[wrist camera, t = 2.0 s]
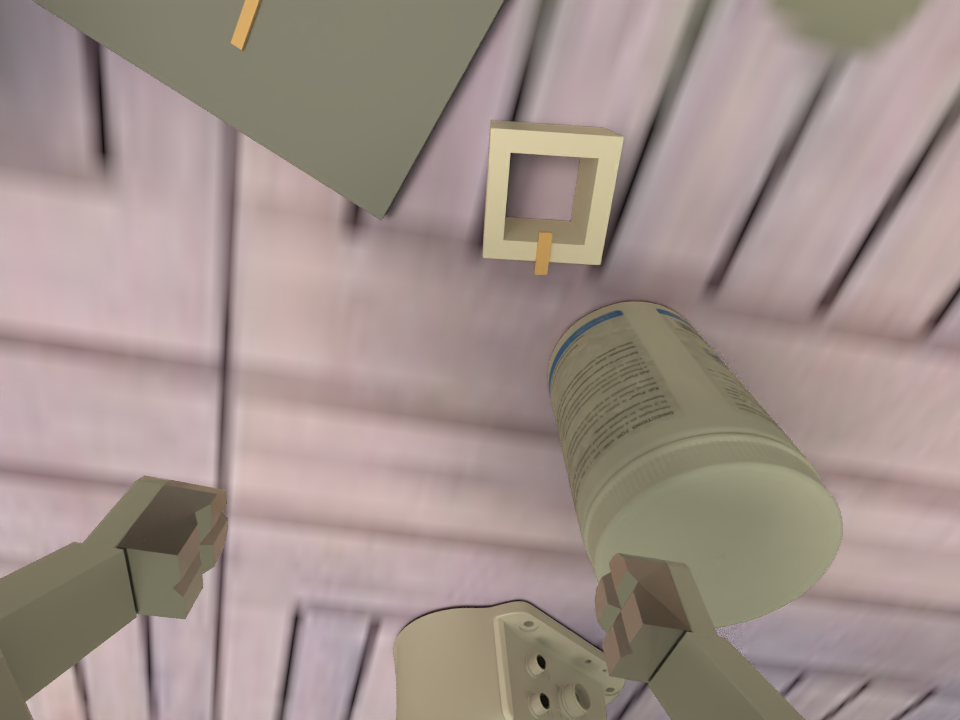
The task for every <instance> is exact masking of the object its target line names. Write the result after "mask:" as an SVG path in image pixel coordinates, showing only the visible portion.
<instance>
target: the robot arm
mask: <svg viewBox="0 0 960 720" xmlns="http://www.w3.org/2000/svg"><path fill="white" fill-rule="evenodd" d="M226 504H227V494H226V491H225V490H222V489H216V488H211V487H206V486H200V485H195V484H190V483H184V482H179V481H174V480H167V479H161V478H156V477H150V476H143V477H142V478H140V479H138V480H137V481H135V482H134V484H133V485H132V486H131V487H130V488H129V489H128V491H127V492H126V493H125V494H124V495H123V496H122V498H121V499H120V500H119V501H118V502H117V503H116V505H115V506H114V507H113V508H112V509H111V510H110V512H109V513H108V514H107V515H106V516H105V517H104V519H103V520H102V521H101V522H100V523H99V524H98V526H97V527H96V528H95V529H94V530H93V531H92V533H91V534H90V535H89V536H88V537H87V538H86V540H85V541H84V542H83V543H78V542H73V543H71V544H69V545H67V546H65V547H63V548H61V549H59V550H57V551H55V552H53V553H51V554H49V555H47V556H45V557H43V558H41V559H39V560H37V561H35V562H33V563H31V564H29V565H27V566H25V567H23V568H21V569H19V570H17V571H15V572H13V573H11V574H9V575H7V576H5V577H3V578H1V579H0V720H33V717H32V715H31V713H30V711H29V709H28V707H27V704H26V701H27V700H28V699H30V698H31V697H32V696H34V695H35V694H36V693H38V692H39V691H40V690H41V689H43V688H44V687H45V686H47V685H48V684H49V683H51V682H52V681H53V680H55V679H56V678H57V677H59V676H60V675H61V674H62V673H64V672H65V671H66V670H68V669H69V668H70V667H72V666H73V665H74V664H76V663H77V662H78V661H80V660H81V659H82V658H83V657H85V656H86V655H87V654H89V653H90V652H91V651H93V650H94V649H95V648H97V647H98V646H99V645H101V644H102V643H103V642H104V641H106V640H107V639H108V638H110V637H111V636H112V635H114V634H115V633H116V632H118V631H119V630H120V629H122V628H123V627H124V626H125V625H127V624H128V623H129V622H131V621H132V620H133V619H135V618H136V617H137V615H136V614H141V615H150V616H160V617H169V618H179V619H186V617H187V615H188V613H189V612H190V610H191V608H192V606H193V604H194V603H195V601H196V599H197V597H198V595H199V594H200V592H201V590H202V588H203V578H202V574H203V573H205V572H206V571H208V570H210V569H211V568H213V567H214V566H215V564H216V562H217V560H218V558H219V557H220V555H221V552H222V550H223V547H224V544H225V541H226V538H227V531H228V518H227V517H226V516H225V515H224V514H223V513H222V511H223V509H224V508H225V506H226ZM609 566H610V570H611V572H610V573H608V574H606V575H604V576H603V577H602V578H601V580H600V582H599V584H598V586H597V590H596V597H595V611H596V616H597V621H598V623H599V625H600V626H601V627H602V628H603V630H604V631H605V632H606V633H607V635H606V637H605V639H604V641H603V643H602V646H603V650H604V653H603V652H602V651H600V650H599V649H597V648H596V647H594V646H593V645H591V644H590V643H588V642H587V641H585V640H584V639H582V638H581V637H579V636H578V635H576V634H575V633H573V632H571V631H570V630H568V629H567V628H565V627H564V626H562V625H561V624H559V623H558V622H556V621H555V620H553V619H552V618H550V617H549V616H547V615H546V614H544V613H543V612H541V611H540V610H538V609H537V608H535V607H534V606H532V605H531V604H529V603H526V602H522V601H517V602H510V603H505V604H502V605H498V606H494V607H489V608H457V609H449V610H443V611H439V612H435V613H431V614H428V615H426V616H423V617H421V618H419V619H417V620H415V621H413V622H412V623H410V624H409V625H408V626H406V627H405V628H404V629H403V630H402V631H401V632H400V633H399V635H398V636H397V638H396V640H395V642H394V646H393V657H394V664H395V674H396V698H397V708H396V720H607V714H606V705H608V704H609V703H610V702H611V701H612V700H613V699H614V698H615V697H616V696H617V695H618V694H619V692H620V691H621V689H622V688H623V686H624V683H625V679H629V680H635V681H641V682H647V683H649V684H648V686H649V687H650V689H651V690H652V692H653V693H654V695H655V696H656V698H657V699H658V701H659V702H660V704H661V705H662V707H663V708H664V710H665V711H666V713H667V714H668V716H669V717H670V719H671V720H805V719H804V718H803V717H802V716H801V715H800V714H799V713H798V712H797V711H796V710H795V709H794V708H793V707H792V706H791V705H790V704H789V702H788V701H787V700H786V699H785V698H784V697H783V696H782V695H781V694H780V693H779V692H778V691H777V690H776V689H775V688H774V687H773V686H772V685H771V684H770V683H769V682H768V681H767V680H766V679H765V678H764V677H763V676H762V675H761V674H760V673H759V672H758V671H757V670H756V669H755V668H754V667H753V666H752V665H751V664H750V663H749V662H748V661H747V660H746V659H745V658H744V657H743V656H742V655H741V654H740V653H739V652H738V650H737V649H736V648H735V647H734V646H733V645H732V644H731V643H730V642H729V641H728V640H727V639H726V638H724V637H719V636H718V635H717V632H716V630H715V628H714V625H713V623H712V621H711V618H710V616H709V613H708V611H707V609H706V606H705V604H704V602H703V599H702V597H701V594H700V592H699V590H698V587H697V585H696V583H695V580H694V578H693V576H692V573H691V571H690V569H689V567H688V566H687V565H686V564H685V563H679V562H673V561H667V560H660V559H656V558H649V557H642V556H636V555H629V554H622V553H617V554H616V555H614V556H613V557H612V559H611V561H610V563H609Z"/></svg>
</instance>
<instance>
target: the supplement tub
mask: <svg viewBox="0 0 960 720" xmlns="http://www.w3.org/2000/svg"><path fill="white" fill-rule="evenodd" d="M548 388H549V393H550V398H551V403H552V407H553V412H554V416H555V421H556V425H557V430H558V434H559V438H560V443H561V447H562V452H563V456H564V461H565V465H566V470H567V474H568V479H569V483H570V487H571V492H572V496H573V501H574V505H575V510H576V514H577V519H578V523H579V526H580V530H581V535H582V539H583V543H584V546H585V548H586V551H587V554H588V557H589V559H590V561H591V563H592V565H593V569H594V572H595V576H596V579H597V582H598V584H599V582H600V580H601V578H602V577H603V576H604V575H606V574H608V573H610V572H611V570H610V566H609V563H610V561H611V559H612V557H613V556H614V555H616V554H617V553H622V554H629V555H636V556H642V557H649V558H656V559H660V560H667V561H673V562H679V563H685V564H686V565H687V566H688V567H689V569H690V571H691V573H692V576H693V578H694V580H695V583H696V585H697V587H698V590H699V592H700V594H701V597H702V599H703V602H704V604H705V606H706V609H707V611H708V613H709V616H710V618H711V621H712V623H713V625H714V628H718V627H724V626H729V625H733V624H738V623H742V622H746V621H749V620H752V619H755V618H758V617H761V616H763V615H766V614H768V613H770V612H773V611H775V610H777V609H779V608H781V607H783V606H785V605H786V604H788V603H789V602H791V601H793V600H794V599H796V598H797V597H799V596H800V595H801V594H803V593H804V592H805V591H807V590H808V589H809V588H810V587H811V586H812V585H814V584H815V583H816V582H817V581H818V580H819V579H820V578H821V576H822V575H823V574H824V573H825V572H826V570H827V569H828V568H829V566H830V565H831V563H832V561H833V560H834V558H835V556H836V554H837V552H838V550H839V546H840V543H841V540H842V534H843V523H842V517H841V512H840V509H839V507H838V505H837V502H836V501H835V499H834V498H833V496H832V495H831V494H830V492H829V491H828V490H827V488H826V487H825V486H824V484H823V483H822V480H821V478H820V476H819V474H818V473H817V471H816V470H815V468H814V467H813V466H812V465H811V463H810V462H809V461H808V460H807V459H806V458H805V457H804V455H803V454H802V453H801V452H800V451H799V450H798V448H797V447H796V446H795V445H794V444H793V442H792V441H791V440H790V439H789V437H788V436H787V435H786V434H785V433H784V432H783V430H782V429H781V428H780V427H779V426H778V425H777V424H776V422H775V421H774V420H773V419H772V418H771V417H770V416H769V414H768V413H767V412H766V411H765V410H764V409H763V408H762V406H761V405H760V404H759V403H758V402H757V401H756V400H755V398H754V397H753V396H752V395H751V394H750V393H749V392H748V390H747V389H746V388H745V387H744V386H743V385H742V384H741V382H740V381H739V380H738V379H737V378H736V377H735V376H734V374H733V373H732V372H731V371H730V370H729V369H728V367H727V366H726V365H725V364H724V363H723V362H722V361H721V359H720V358H719V357H718V356H717V355H716V354H715V353H714V351H713V350H712V349H711V348H710V347H709V345H708V344H707V343H706V342H705V341H704V340H703V339H702V338H701V336H700V335H699V334H698V333H697V332H696V331H695V329H694V328H693V327H692V326H691V325H690V324H689V323H688V322H687V321H686V320H685V319H684V318H683V317H681V316H680V315H679V314H677V313H676V312H674V311H672V310H670V309H669V308H666V307H664V306H661V305H658V304H654V303H649V302H638V301H631V302H621V303H616V304H612V305H609V306H606V307H603V308H601V309H598V310H596V311H594V312H592V313H590V314H588V315H586V316H585V317H583V318H581V319H580V320H579V321H577V322H576V323H575V324H573V325H572V326H571V327H570V328H569V329H568V330H567V331H566V332H565V333H564V335H563V336H562V337H561V339H560V340H559V342H558V343H557V345H556V347H555V349H554V351H553V353H552V356H551V359H550V362H549V366H548Z"/></svg>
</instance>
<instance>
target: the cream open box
mask: <svg viewBox="0 0 960 720" xmlns="http://www.w3.org/2000/svg"><path fill="white" fill-rule="evenodd" d="M623 139H624V137H623V136H621V135H618V134H616V133H614V132H612V131H609V130H607V129H605V128H602V127H587V126H572V125H557V124H542V123H527V122H512V121H497V120H491V123H490V139H489V155H488V170H487V186H486V202H485V218H484V235H483V258H494V259H510V260H526V261H535V268H534V274H538V275H547V272H548V264H549V262H558V263H574V264H590V265H600V264H601V258H602V253H603V247H604V242H605V237H606V231H607V226H608V220H609V215H610V210H611V204H612V199H613V193H614V188H615V183H616V177H617V172H618V166H619V161H620V156H621V150H622V145H623ZM510 153H523V154H538V155H554V156H569V157H580V162H579V168H578V175H577V182H576V189H575V195H574V202H573V209H572V216H571V221H561V220H545V219H530V218H514V217H505V213H506V201H507V189H508V177H509V165H510Z"/></svg>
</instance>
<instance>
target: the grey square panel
mask: <svg viewBox="0 0 960 720" xmlns="http://www.w3.org/2000/svg"><path fill="white" fill-rule="evenodd" d="M32 1H34V2H35V3H37V4H38V5H40V6H41V7H43V8H45V9H46V10H48V11H49V12H51V13H53V14H54V15H56V16H57V17H59V18H61V19H62V20H64V21H65V22H67V23H68V24H70V25H72V26H73V27H75V28H76V29H78V30H80V31H81V32H83V33H84V34H86V35H88V36H89V37H91V38H92V39H94V40H95V41H97V42H99V43H100V44H102V45H103V46H105V47H107V48H108V49H110V50H111V51H113V52H115V53H116V54H118V55H119V56H121V57H123V58H124V59H126V60H127V61H129V62H130V63H132V64H134V65H135V66H137V67H138V68H140V69H142V70H143V71H145V72H146V73H148V74H150V75H151V76H153V77H154V78H156V79H157V80H159V81H161V82H162V83H164V84H165V85H167V86H169V87H170V88H172V89H173V90H175V91H177V92H178V93H180V94H181V95H183V96H184V97H186V98H188V99H189V100H191V101H192V102H194V103H196V104H197V105H199V106H200V107H202V108H204V109H205V110H207V111H208V112H210V113H211V114H213V115H215V116H216V117H218V118H219V119H221V120H223V121H224V122H226V123H227V124H229V125H231V126H232V127H234V128H235V129H237V130H239V131H240V132H242V133H243V134H245V135H246V136H248V137H250V138H251V139H253V140H254V141H256V142H258V143H259V144H261V145H262V146H264V147H266V148H267V149H269V150H270V151H272V152H273V153H275V154H277V155H278V156H280V157H281V158H283V159H285V160H286V161H288V162H289V163H291V164H293V165H294V166H296V167H297V168H299V169H300V170H302V171H304V172H305V173H307V174H308V175H310V176H312V177H313V178H315V179H316V180H318V181H320V182H321V183H323V184H324V185H326V186H327V187H329V188H331V189H332V190H334V191H335V192H337V193H339V194H340V195H342V196H343V197H345V198H347V199H348V200H350V201H351V202H353V203H355V204H356V205H358V206H359V207H361V208H362V209H364V210H366V211H367V212H369V213H370V214H372V215H374V216H375V217H377V218H378V219H380V220H382V219H383V217H384V216H385V215H386V213H387V211H388V209H389V208H390V206H391V204H392V202H393V200H394V199H395V197H396V195H397V193H398V191H399V190H400V188H401V186H402V184H403V182H404V181H405V179H406V177H407V175H408V174H409V172H410V170H411V168H412V166H413V165H414V163H415V161H416V159H417V157H418V156H419V154H420V152H421V150H422V148H423V147H424V145H425V143H426V141H427V139H428V138H429V136H430V134H431V132H432V130H433V129H434V127H435V125H436V123H437V121H438V120H439V118H440V116H441V114H442V113H443V111H444V109H445V107H446V105H447V104H448V102H449V100H450V98H451V96H452V95H453V93H454V91H455V89H456V87H457V86H458V84H459V82H460V80H461V78H462V77H463V75H464V73H465V71H466V69H467V68H468V66H469V64H470V62H471V61H472V59H473V57H474V55H475V53H476V52H477V50H478V48H479V46H480V44H481V43H482V41H483V39H484V37H485V35H486V34H487V32H488V30H489V28H490V26H491V25H492V23H493V21H494V19H495V17H496V16H497V14H498V12H499V10H500V9H501V7H502V5H503V3H504V1H505V0H32Z"/></svg>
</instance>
